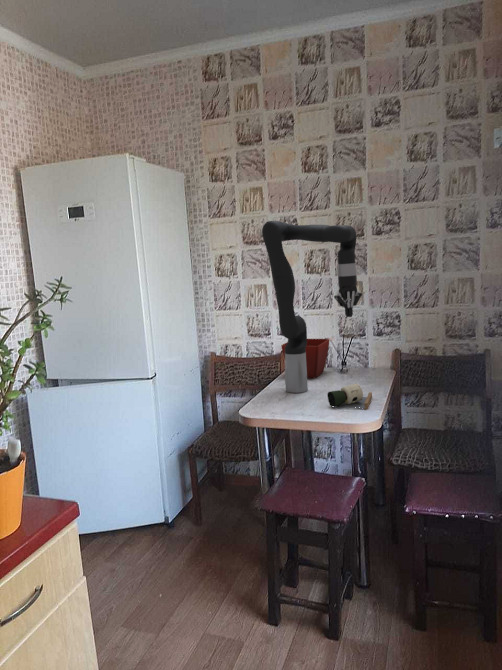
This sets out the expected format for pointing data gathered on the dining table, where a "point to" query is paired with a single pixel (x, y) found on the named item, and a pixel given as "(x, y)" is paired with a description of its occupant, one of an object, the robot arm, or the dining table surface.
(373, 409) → the dining table surface
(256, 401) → the dining table surface
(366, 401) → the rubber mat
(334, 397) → the character mug
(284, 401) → the dining table surface
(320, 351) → the plant pot
